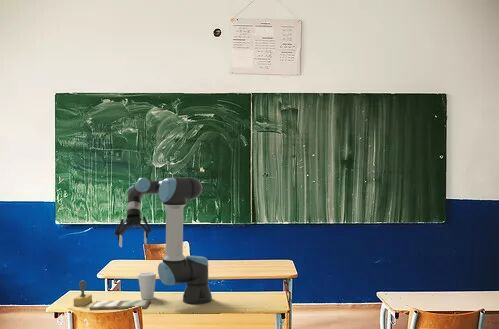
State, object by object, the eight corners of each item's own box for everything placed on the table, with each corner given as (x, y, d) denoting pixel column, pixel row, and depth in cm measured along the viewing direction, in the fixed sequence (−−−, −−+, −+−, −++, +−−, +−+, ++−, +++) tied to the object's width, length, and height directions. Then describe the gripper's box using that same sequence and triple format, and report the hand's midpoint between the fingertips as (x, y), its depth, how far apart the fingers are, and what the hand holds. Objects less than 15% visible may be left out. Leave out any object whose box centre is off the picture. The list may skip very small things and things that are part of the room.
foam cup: (152, 300, 290) (151, 275, 290) (135, 299, 292) (135, 275, 292) (158, 296, 300) (158, 272, 300) (142, 295, 302) (142, 271, 301)
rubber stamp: (81, 300, 292) (81, 278, 292) (92, 301, 291) (91, 278, 291) (73, 305, 282) (73, 282, 282) (84, 306, 282) (83, 282, 282)
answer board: (150, 302, 287) (150, 299, 287) (146, 308, 274) (146, 306, 274) (96, 302, 287) (96, 300, 287) (89, 309, 274) (89, 307, 274)
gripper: (157, 211, 314) (157, 245, 302) (113, 217, 315) (112, 250, 303) (154, 205, 308) (154, 238, 296) (110, 210, 309) (108, 244, 296)
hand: (132, 244), depth 299 cm, fingers open, 13 cm apart
